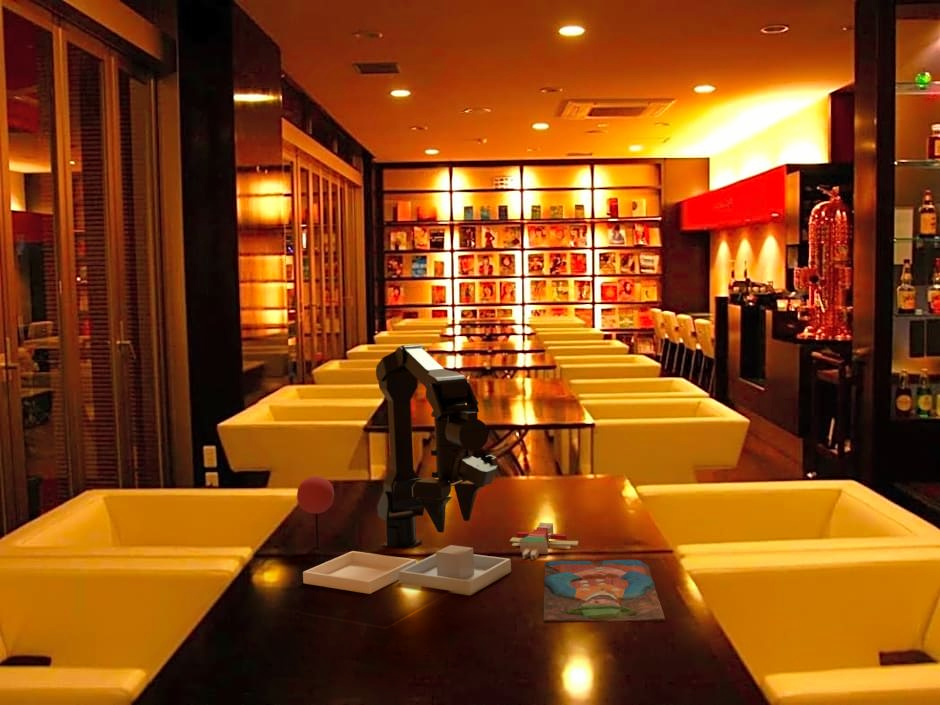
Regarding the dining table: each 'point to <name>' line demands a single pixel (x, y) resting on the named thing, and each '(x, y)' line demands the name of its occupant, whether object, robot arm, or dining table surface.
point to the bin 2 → (426, 576)
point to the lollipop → (315, 497)
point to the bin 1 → (357, 572)
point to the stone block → (455, 562)
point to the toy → (540, 541)
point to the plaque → (600, 592)
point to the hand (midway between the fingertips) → (454, 526)
